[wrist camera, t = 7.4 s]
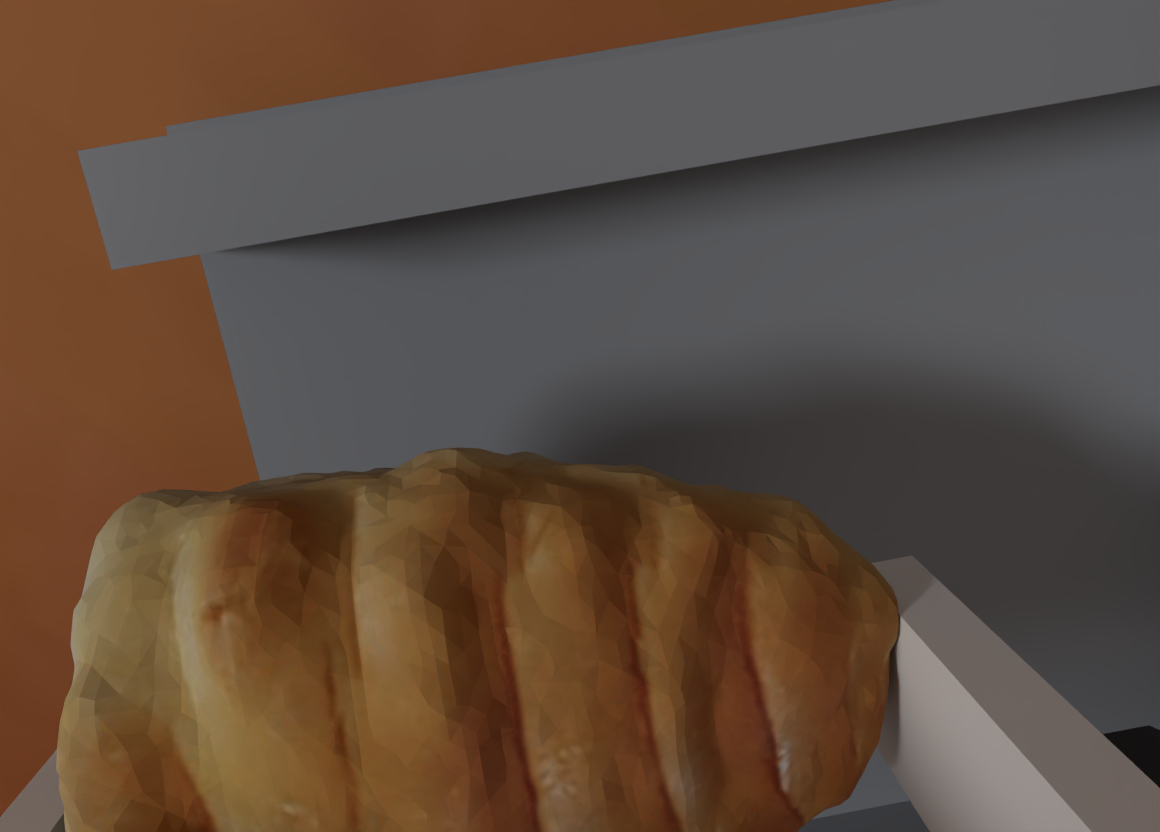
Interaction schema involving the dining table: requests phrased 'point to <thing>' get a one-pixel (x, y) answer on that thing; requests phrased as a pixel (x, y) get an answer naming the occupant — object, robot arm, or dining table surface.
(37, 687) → the dining table surface
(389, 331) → the tray
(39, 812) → the robot arm
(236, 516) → the pastry
